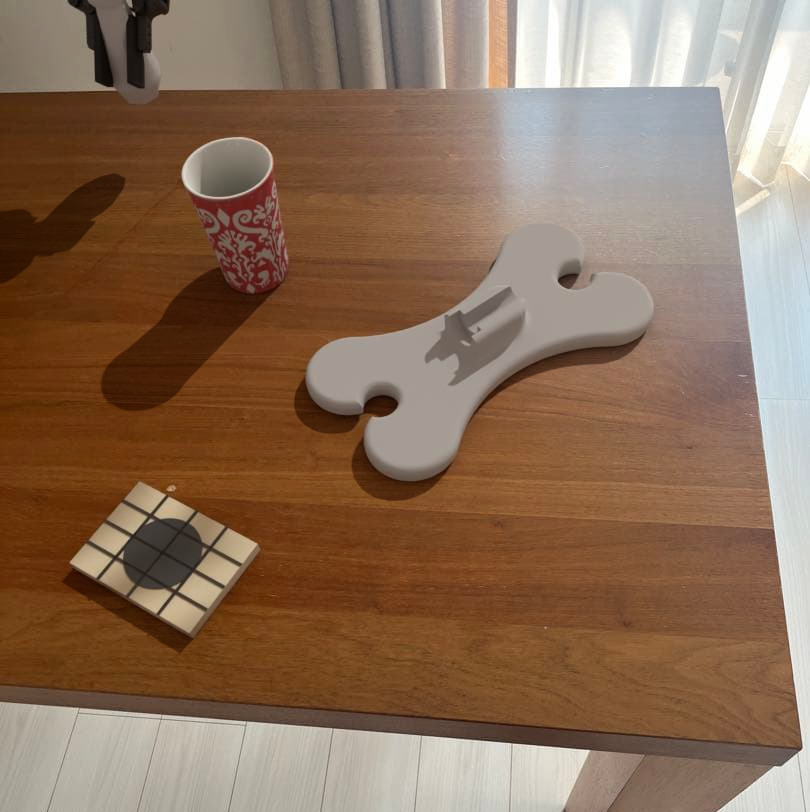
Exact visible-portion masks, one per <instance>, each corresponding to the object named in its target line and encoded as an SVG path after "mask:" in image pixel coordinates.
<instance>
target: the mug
mask: <svg viewBox="0 0 810 812" xmlns="http://www.w3.org/2000/svg"><path fill="white" fill-rule="evenodd" d="M274 163H275V162H274V157H273V154H272V152H271V150H269V148H268V147H267V146H266V145H264V144H263V143H261V142H260V141H257V140H255V139H252V138H250V137H248V136H237V137H225V138H219V139H216V140H212V141H210V142H207V143H206V144H203V145H202V146H200V147H198V148H197V149H196V150H195V151H193V152H192V153H191V154H190V155H189V156H188V157H187V159H186V160H185V161H184V163H183V165H182V167H181V174H180V175H181V180H182V181H181V182H182V184H183V186H184V188H185V189H186V190H187V192H188V194H189V197H190V198H191V201H192V204H193V206H194V208H195V212H196V213H197V215H198V218H199V220H200V222H201V224H202V227H203V229H204V232H205V234H206V237H207V239H208V241H209V244H210V246H211V249H212V251H213V254H214V255H215V258H216V260H217V262H218V265H219V268H220V269H221V273H222V274H223V277H224V279H225V281H226V282H227V284H228V285H229V286H230V287H231V288H232V289H233V290H235V291H238V292H240V293H244V294H251V295H252V294H253V295H254V294H262V293H265V292H268V291H271V290H273V289H275V288H276V287H278V286H279V285H280V284H281V283H282V282H283V281H284V280H285V279H286V277H287V275H288V274H289V273H288V272H289V270H290V261H289V255H288V248H287V244H286V238H285V233H284V227H283V222H282V215H281V210H280V202H279V196H278V190H277V185H276V180H275V179H276V178H275V175H274Z"/></svg>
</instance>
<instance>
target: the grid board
mask: <svg viewBox="0 0 810 812" xmlns="http://www.w3.org/2000/svg"><path fill="white" fill-rule="evenodd" d="M260 551H261V548H260V545H259V544H258V543H257V542H255V541H253V540H251V539H250V538H248V537H246V536H244V535H242V534H240V533H238V532H237V531H234V530H233V529H231V528H229V527H228V526H226V525H223V524H222V523H220V522H217V521H216V520H214V519H212V518H210V517H209V516H206V515H204V514H203V513H201V512H199V511H198V510H195V509H193V508H192V507H190V506H188V505H185V504H184V503H182V502H180V501H178V500H176V499H174V498H173V497H171V496H170V495H168V494H165V493H163V492H161V491H160V490H158V489H156V488H154V487H151V486H150V485H148V484H146V483H144V482H143V481H138V482H137V483H136V484H135V486H134V487H133V488H132V489H131V491H130V492H129V493H128V494H127V495H126V496H125V497H124V498H122V499H121V500H120V503H119V504H118V505H117V507H115V509H114V510H113V511H112V512H111V514H110V515H109V516H107V518H105V519H104V520H103V523H102V524H101V525H100V526H99V527H98V529H96V531H95V532H94V533H93V534H92V535H91V537H90V538H89V539H87V540H86V541H85V544H84V545H83V546H82V547H81V548H80V550H79V551H78V552H77V553H76V554H75V555H74V556H73V558H72V559H71V560H70V561H69V562H68V563H69V564H70V565H71V567H72V568H73V569H74V570H76V571H78V572H79V573H81V574H83V575H84V576H86V577H88V578H89V579H90V580H92V581H94V582H96V583H97V584H99V585H101V586H103V587H105V588H106V589H107V590H109V591H111V592H113V593H115V594H116V595H118V596H120V597H121V598H123V599H125V600H127V601H128V602H130V603H132V604H133V605H135V606H137V607H139V608H140V609H142V610H143V611H145V612H146V613H149V614H150V615H152V616H154V617H155V618H157V619H159V620H160V621H162V622H164V623H165V624H167V625H169V626H170V627H172V628H174V629H176V630H177V631H180V632H181V633H182V634H183V635H186V636H188V637H189V638H191V639H194V638H195V637H196V636H197V634H198V633H199V631H200V630H201V629H202V628H203V626H204V625H205V624H206V622H207V621H208V620H209V618H210V617H211V616H212V614H213V613H214V612H215V611H216V610H217V608H218V606H219V605H220V604H221V603H222V602H223V600H224V599H225V597H226V596H227V595H228V594H229V592H230V591H231V589H232V588H233V587H234V586H235V584H236V583H237V581H238V580H239V579H240V578H241V576H242V575H243V574H244V573H245V571H246V570H247V569H248V567H249V566H250V565H251V564H252V562H253V561H254V559H255V558H256V557H257V556H258V554H259V553H260Z"/></svg>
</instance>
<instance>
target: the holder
mask: <svg viewBox="0 0 810 812" xmlns="http://www.w3.org/2000/svg"><path fill="white" fill-rule="evenodd" d="M586 254H587V253H586V247H585V245H584V242H583V239H582V238H581V237H580V236H579V235H578V234H577V233H576V232H575V231H574V230H572V229H571V228H570V227H567V226H566V225H563V224H560V223H557V222H553V221H534V222H529V223H525V224H523V225H520V226H518V227H516V228H514V229H513V230H511V232H509V233H508V234H507V235H506V236H505V237H504V239H503V241H502V242H501V245H500V246H499V251H498V254H497V256H496V259H495V261H494V264H493V265H492V267H491V269H490V270H489V272H488V273H487V275H486V277H485V278H484V279H483V281H481V283H480V284H479V285H478V287H476V289H474V291H472V292H471V293H470V294H468V296H467V297H466V298H464V299H463V300H462V301H461V302H459V303H457V305H455V306H454V307H451V308H450V309H449V310H447V311H445V312H443V313H441V314H440V315H438V316H436V317H434V318H431V319H429V320H428V321H425V322H422V323H420V324H417V325H415V326H412V327H408V328H405V329H401V330H397V331H393V332H387V333H382V334H378V335H377V334H376V335H367V336H349V337H342V338H338V339H335V340H333V341H330V342H328V343H327V344H325V345H323V346H322V347H321V348H319V349H318V350H317V351H316V352H315V353H314V354H313V355H312V357H311V358H310V360H309V362H308V364H307V367H306V369H305V375H304V376H305V377H304V379H305V380H304V381H305V385H306V389H307V392H308V394H309V396H310V398H311V400H312V401H314V403H315V404H316V405H318V407H320V408H321V409H323V410H325V411H327V412H329V413H332V414H336V415H339V416H354V415H355V416H356V415H361V414H364V408H365V405H366V403H367V402H368V401H369V400H371V399H372V398H375V397H378V396H386V397H387V396H388V397H391V398H392V399H394V400H395V401H396V402H397V407H396V409H395V410H394V411H393V412H392V413H390V414H387V415H386V416H381V417H380V416H379V417H377V416H370V418H369V420H368V421H367V423H366V426H365V428H364V432H363V446H364V447H363V448H364V451H365V454H366V457H367V458H368V460H369V462H370V463H371V465H372V466H373V467H374V468H375V469H376V470H377V471H378V472H380V473H381V474H382V475H384V476H386V477H388V478H390V479H393V480H397V481H401V482H402V481H403V482H418V481H424V480H427V479H430V478H432V477H435V476H436V475H438V474H440V473H442V472H443V471H445V469H447V468H448V467H449V466H450V465H451V464H452V462H453V461H454V460H455V458H456V456H457V454H458V450H459V447H460V444H461V441H462V439H463V435H464V433H465V430H466V428H467V426H468V425H469V421H470V420H471V419H472V416H473V415H474V414H475V412H476V410H477V409H478V408H479V406H480V405H481V404H482V402H484V400H485V399H486V398H487V397H488V396H489V395H490V394H491V393H492V392H493V391H494V390H495V389H496V388H498V386H499V385H501V384H502V383H503V382H504V381H506V380H507V379H508V378H510V377H512V376H513V375H515V374H517V372H519V371H521V370H523V369H525V368H526V367H529V366H531V365H532V364H534V363H537V362H539V361H542V360H545V359H547V358H549V357H553V356H556V355H559V354H564V353H566V352H573V351H576V350H582V349H583V350H584V349H590V348H599V347H600V348H601V347H602V348H603V347H617V346H623V345H626V344H629V343H631V342H634V341H635V340H637V339H639V338H640V337H641V336H642V335H644V333H646V331H647V330H648V329H649V327H650V325H651V324H652V322H653V318H654V313H655V303H654V299H653V296H652V294H651V292H650V291H649V290H648V288H647V287H646V286H645V285H644V284H643V283H642V282H641V281H639V280H638V279H636V278H634V277H632V276H630V275H627V274H626V273H625V274H624V273H620V272H615V271H601V272H595V273H592V274H591V275H590V277H589V278H590V279H589V282H590V283H589V285H588V286H586V287H584V288H580V289H570V288H566V287H565V286H562V285H561V284H560V283H559V281H558V280H559V279H560V278H561V277H563V276H566V275H572V274H575V275H576V274H577V275H580V274H581V273H582V271H583V269H584V266H585V263H586V256H587V255H586Z"/></svg>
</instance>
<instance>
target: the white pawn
mask: <svg viewBox="0 0 810 812" xmlns="http://www.w3.org/2000/svg"><path fill="white" fill-rule="evenodd" d="M87 1H88V2H89V3H90V4H91V5H92V6H94V7H96V11H97V16H98V19H99V22H100V27H101V32H102V36H103V40H104V44H105V48H106V52H107V56H108V60H109V64H110V68H111V72H112V76H113V87H112V88H113V89H115V90H116V91H117V92H118V93H119V94H120V95H121V96H122V97H123V99H124V100H125V101H126V102H127V103H128V104H131V105H146V104H148V103H149V102H151V101H154V100H155V99H157V98H158V97H159V90H160V85H161V80H162V72H161V66H160V63H159V61H158V60H157V58H156V55H155V54H154V51H153V49H152V50H151V53H143V56H144V62H145V89H139V88H137V87H135V86H132V85H130V84H128V83H127V49H126V23H127V20H128V15H133V16H135V14H134V12H132V11H131V10H130V7H131V6H130V5H129V3H128V1H127V0H87Z"/></svg>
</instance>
